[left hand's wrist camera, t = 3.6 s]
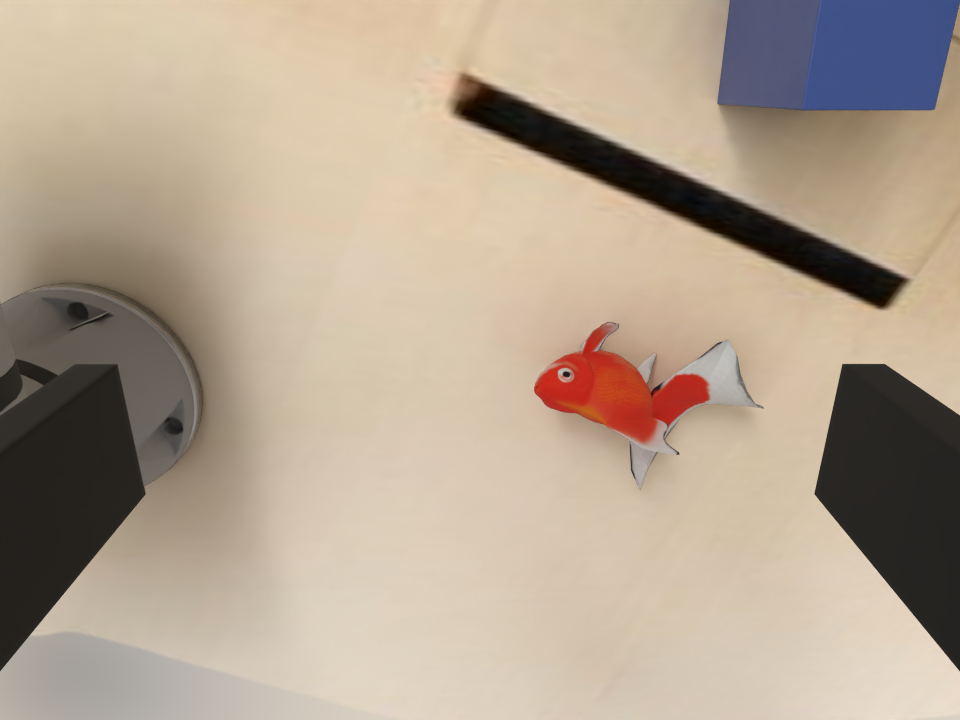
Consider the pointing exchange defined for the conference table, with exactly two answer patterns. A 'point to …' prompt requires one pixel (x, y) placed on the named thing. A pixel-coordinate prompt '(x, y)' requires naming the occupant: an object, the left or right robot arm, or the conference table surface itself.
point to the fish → (639, 393)
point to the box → (836, 53)
